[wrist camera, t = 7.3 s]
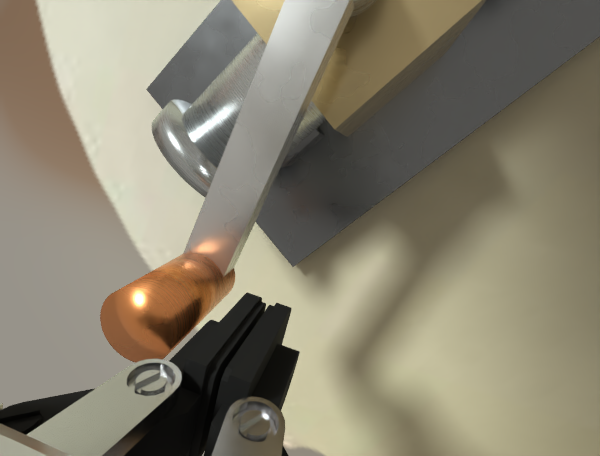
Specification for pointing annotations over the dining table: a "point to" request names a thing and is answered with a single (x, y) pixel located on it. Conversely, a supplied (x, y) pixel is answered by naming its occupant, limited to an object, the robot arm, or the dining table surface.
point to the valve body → (362, 98)
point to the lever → (232, 186)
